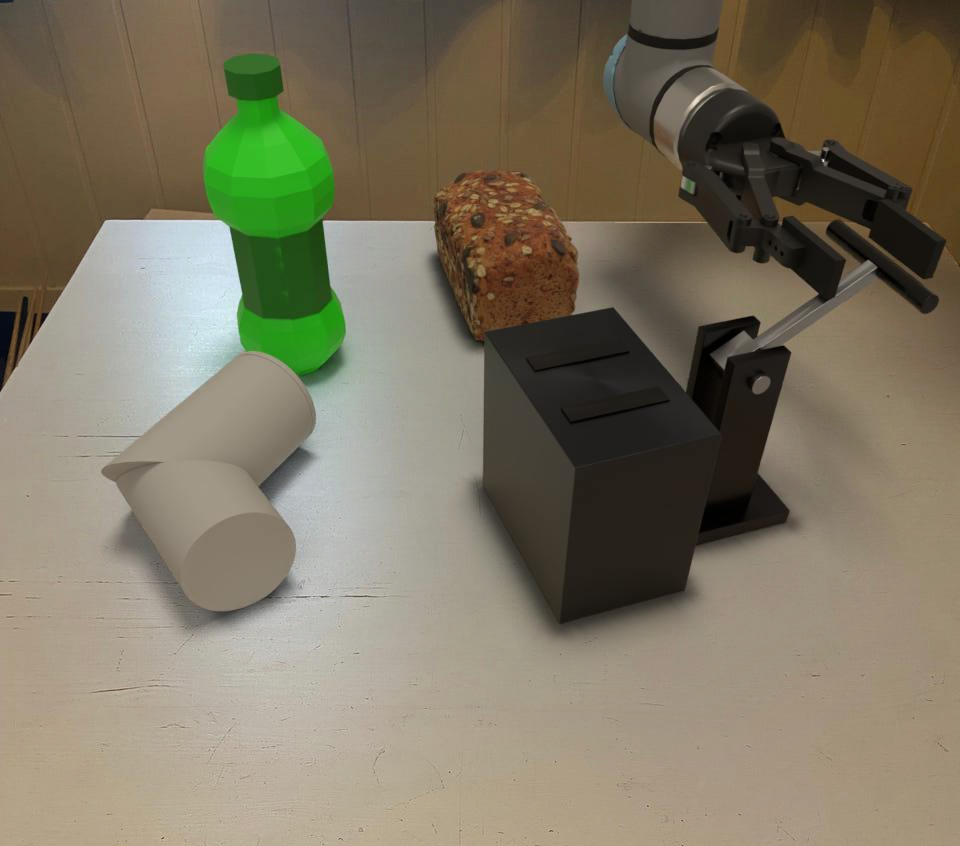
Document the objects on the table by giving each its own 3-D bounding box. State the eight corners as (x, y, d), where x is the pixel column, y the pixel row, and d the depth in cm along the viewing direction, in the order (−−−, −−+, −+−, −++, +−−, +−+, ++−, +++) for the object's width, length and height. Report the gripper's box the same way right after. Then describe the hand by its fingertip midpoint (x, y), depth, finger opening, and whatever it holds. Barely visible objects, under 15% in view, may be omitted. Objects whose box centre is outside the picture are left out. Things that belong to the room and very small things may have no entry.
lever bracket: (735, 461, 81) (777, 297, 70) (786, 521, 76) (840, 356, 65) (626, 487, 79) (652, 322, 68) (672, 551, 74) (707, 385, 63)
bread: (576, 338, 94) (585, 237, 86) (467, 350, 92) (466, 248, 84) (528, 245, 106) (532, 149, 98) (431, 255, 104) (428, 158, 96)
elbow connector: (68, 471, 78) (161, 628, 67) (56, 349, 71) (158, 501, 60) (274, 439, 87) (385, 572, 76) (281, 328, 80) (404, 456, 69)
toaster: (595, 460, 81) (613, 304, 71) (685, 590, 71) (722, 432, 61) (482, 486, 79) (484, 329, 68) (559, 624, 69) (575, 466, 59)
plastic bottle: (254, 327, 94) (200, 37, 76) (362, 333, 94) (335, 42, 75) (227, 387, 88) (160, 86, 69) (343, 394, 87) (307, 92, 68)
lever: (844, 235, 70) (838, 209, 68) (941, 311, 63) (937, 285, 62) (689, 344, 73) (679, 322, 71) (766, 429, 66) (758, 407, 64)
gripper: (812, 166, 85) (986, 295, 71) (601, 200, 80) (743, 346, 66) (836, 71, 79) (1031, 191, 65) (611, 102, 75) (768, 239, 60)
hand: (885, 269), depth 66 cm, fingers open, 7 cm apart
